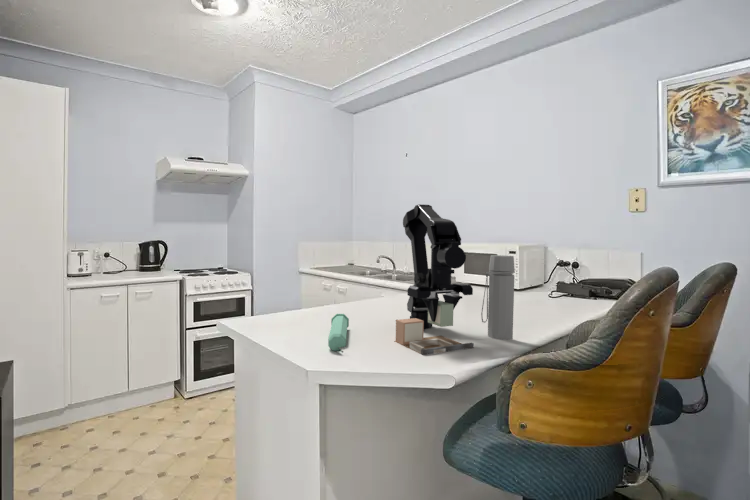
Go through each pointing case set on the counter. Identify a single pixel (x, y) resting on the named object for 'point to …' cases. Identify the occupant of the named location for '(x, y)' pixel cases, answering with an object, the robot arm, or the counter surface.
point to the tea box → (443, 315)
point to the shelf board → (436, 345)
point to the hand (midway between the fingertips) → (440, 320)
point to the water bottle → (500, 297)
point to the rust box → (409, 330)
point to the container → (338, 332)
